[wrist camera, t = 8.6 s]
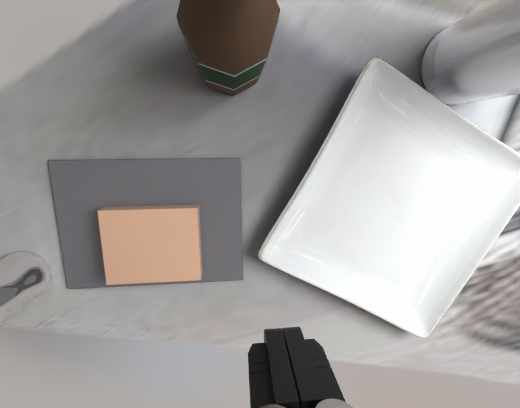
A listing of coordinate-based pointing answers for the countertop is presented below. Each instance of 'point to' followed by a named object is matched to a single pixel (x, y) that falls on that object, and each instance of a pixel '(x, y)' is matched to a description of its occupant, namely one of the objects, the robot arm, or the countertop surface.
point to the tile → (151, 243)
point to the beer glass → (20, 281)
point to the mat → (147, 194)
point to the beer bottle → (229, 39)
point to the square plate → (396, 203)
